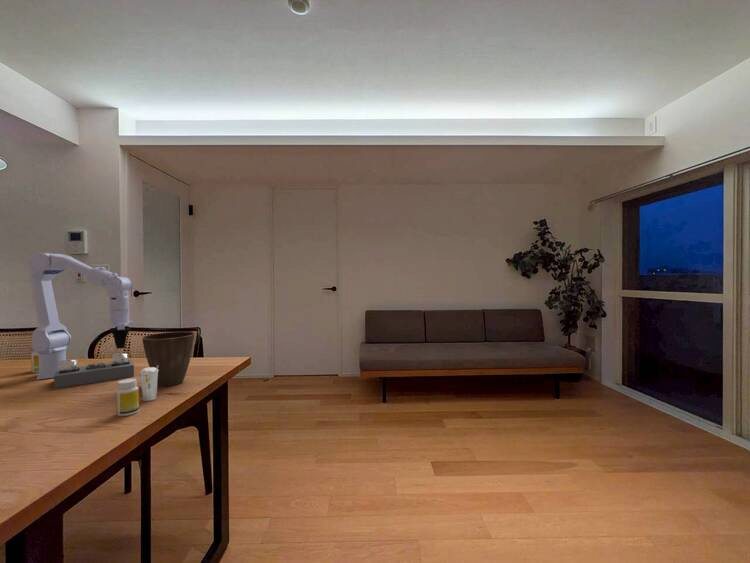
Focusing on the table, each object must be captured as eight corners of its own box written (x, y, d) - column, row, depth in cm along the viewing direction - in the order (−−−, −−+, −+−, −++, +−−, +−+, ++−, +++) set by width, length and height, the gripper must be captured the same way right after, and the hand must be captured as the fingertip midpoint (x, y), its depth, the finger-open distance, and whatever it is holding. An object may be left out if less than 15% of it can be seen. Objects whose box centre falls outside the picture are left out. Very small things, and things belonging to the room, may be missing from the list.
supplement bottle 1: (27, 372, 132) (27, 346, 131) (44, 368, 137) (43, 344, 137) (38, 373, 130) (37, 347, 130) (54, 369, 135) (53, 344, 135)
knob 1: (60, 373, 118) (60, 359, 118) (78, 370, 121) (77, 357, 121) (60, 376, 115) (59, 362, 115) (77, 373, 118) (77, 360, 118)
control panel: (56, 380, 120) (56, 369, 120) (131, 370, 133) (130, 359, 133) (54, 388, 112) (53, 376, 112) (134, 376, 125) (133, 365, 125)
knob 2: (112, 366, 127) (112, 353, 127) (127, 364, 130) (127, 351, 130) (113, 368, 124) (113, 355, 124) (128, 366, 127) (128, 353, 126)
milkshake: (152, 402, 99) (151, 367, 98) (136, 401, 100) (135, 366, 99) (165, 397, 103) (164, 363, 103) (149, 396, 104) (148, 362, 104)
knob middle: (87, 376, 123) (87, 363, 123) (103, 374, 126) (103, 361, 126) (87, 379, 119) (87, 366, 119) (104, 377, 122) (103, 364, 122)
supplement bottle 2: (143, 410, 93) (142, 379, 93) (125, 417, 88) (124, 384, 88) (130, 408, 94) (129, 377, 94) (112, 415, 90) (111, 382, 90)
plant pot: (131, 388, 111) (130, 338, 111) (170, 375, 126) (169, 330, 126) (169, 392, 107) (168, 340, 107) (205, 378, 122) (204, 332, 122)
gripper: (134, 310, 123) (135, 349, 124) (130, 307, 135) (131, 343, 135) (109, 312, 119) (110, 352, 119) (107, 309, 130) (108, 345, 130)
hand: (120, 347), depth 127 cm, fingers open, 3 cm apart
